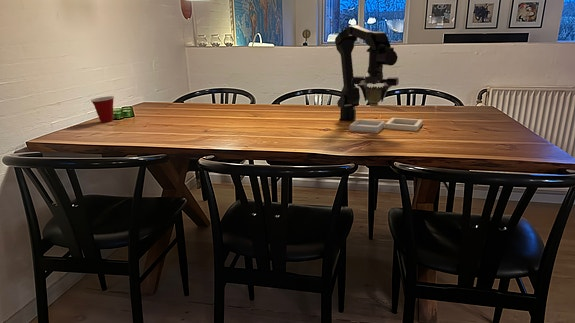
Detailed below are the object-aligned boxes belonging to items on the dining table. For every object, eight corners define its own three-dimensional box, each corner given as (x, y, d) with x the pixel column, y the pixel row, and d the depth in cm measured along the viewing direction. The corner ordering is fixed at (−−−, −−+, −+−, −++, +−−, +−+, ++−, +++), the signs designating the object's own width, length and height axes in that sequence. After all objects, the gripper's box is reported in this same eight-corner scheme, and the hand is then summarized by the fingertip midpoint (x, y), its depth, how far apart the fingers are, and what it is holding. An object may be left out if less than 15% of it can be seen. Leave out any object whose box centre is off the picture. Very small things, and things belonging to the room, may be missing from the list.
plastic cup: (95, 120, 202) (91, 96, 198) (118, 118, 205) (114, 95, 201) (93, 124, 192) (88, 100, 188) (116, 122, 195) (113, 98, 192)
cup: (383, 107, 165) (384, 88, 162) (365, 107, 166) (365, 88, 163) (382, 104, 172) (383, 86, 169) (364, 104, 173) (365, 85, 170)
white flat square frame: (384, 128, 172) (384, 123, 171) (391, 121, 183) (392, 117, 182) (417, 130, 166) (417, 126, 165) (422, 124, 177) (422, 119, 176)
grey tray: (349, 130, 169) (349, 124, 168) (357, 124, 179) (358, 119, 178) (377, 133, 164) (377, 127, 163) (384, 126, 174) (384, 121, 173)
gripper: (348, 65, 160) (347, 103, 165) (394, 66, 152) (392, 106, 157) (355, 62, 170) (354, 98, 175) (400, 63, 162) (397, 101, 167)
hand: (373, 101), depth 168 cm, fingers closed on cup, 6 cm apart
